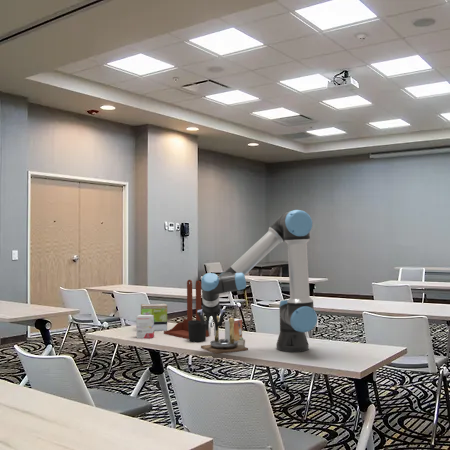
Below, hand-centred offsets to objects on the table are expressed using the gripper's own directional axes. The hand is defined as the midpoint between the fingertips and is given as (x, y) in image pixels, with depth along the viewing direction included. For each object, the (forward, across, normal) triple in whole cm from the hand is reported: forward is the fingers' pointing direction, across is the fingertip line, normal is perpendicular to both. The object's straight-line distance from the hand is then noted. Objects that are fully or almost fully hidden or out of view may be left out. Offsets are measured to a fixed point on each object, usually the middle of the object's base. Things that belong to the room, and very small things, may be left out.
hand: (212, 333), depth 257 cm
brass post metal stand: (+3, +6, -5) cm, 8 cm away
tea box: (+44, -37, +36) cm, 68 cm away
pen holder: (+19, -9, +10) cm, 23 cm away
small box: (+20, +10, +11) cm, 25 cm away
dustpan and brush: (+31, -16, +22) cm, 41 cm away
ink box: (+27, -37, +17) cm, 49 cm away
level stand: (+4, +6, -6) cm, 9 cm away
